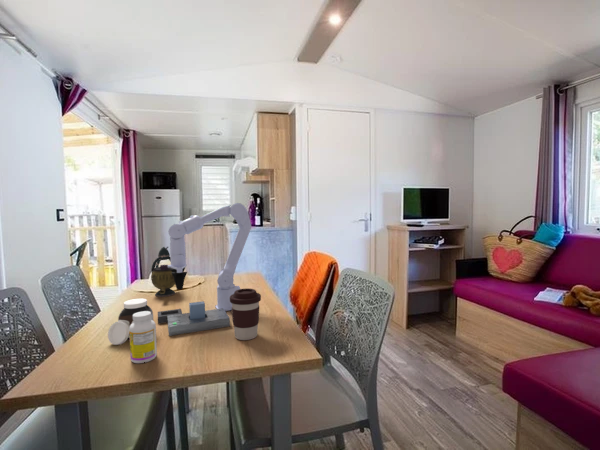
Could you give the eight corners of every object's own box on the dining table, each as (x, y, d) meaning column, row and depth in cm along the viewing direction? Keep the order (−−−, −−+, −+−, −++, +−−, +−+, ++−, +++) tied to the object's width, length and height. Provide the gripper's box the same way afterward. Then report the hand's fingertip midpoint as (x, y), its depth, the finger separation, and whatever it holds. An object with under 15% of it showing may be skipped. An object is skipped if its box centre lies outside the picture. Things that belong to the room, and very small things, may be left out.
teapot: (179, 288, 167) (177, 244, 166) (177, 302, 144) (175, 250, 142) (153, 290, 164) (152, 245, 162) (147, 305, 140) (145, 251, 139)
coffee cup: (266, 332, 109) (265, 288, 108) (252, 344, 99) (251, 296, 98) (240, 328, 112) (239, 286, 111) (224, 340, 103) (223, 293, 102)
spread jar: (156, 330, 111) (155, 297, 110) (146, 344, 100) (145, 307, 99) (118, 333, 109) (116, 299, 108) (104, 347, 98) (102, 309, 97)
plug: (204, 322, 118) (203, 301, 118) (205, 325, 115) (204, 303, 115) (189, 324, 116) (189, 303, 116) (190, 327, 113) (190, 305, 113)
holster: (181, 314, 127) (181, 308, 127) (182, 320, 121) (182, 313, 121) (157, 318, 123) (157, 311, 123) (157, 323, 118) (157, 316, 117)
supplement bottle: (136, 353, 94) (134, 310, 93) (160, 352, 94) (158, 309, 93) (126, 365, 87) (124, 318, 86) (151, 363, 88) (149, 317, 87)
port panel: (223, 315, 125) (223, 307, 125) (229, 326, 114) (229, 317, 114) (167, 323, 117) (167, 314, 117) (168, 336, 106) (168, 326, 106)
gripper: (166, 252, 135) (167, 284, 135) (167, 257, 121) (169, 292, 122) (184, 251, 137) (185, 282, 138) (187, 255, 124) (188, 290, 125)
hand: (179, 287), depth 130 cm, fingers open, 7 cm apart
